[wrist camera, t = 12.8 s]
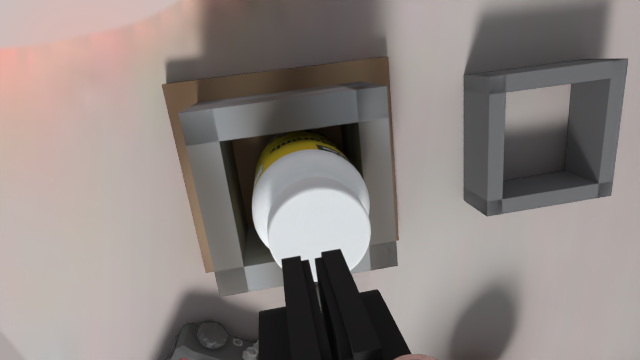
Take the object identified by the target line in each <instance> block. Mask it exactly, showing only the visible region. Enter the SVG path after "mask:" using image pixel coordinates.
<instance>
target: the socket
mask: <svg viewBox="0 0 640 360" xmlns="http://www.w3.org/2000/svg"><path fill="white" fill-rule="evenodd" d="M162 88H163V92H164V96H165V101H166V105H167V109H168V114H169V118H170V122H171V126H172V131H173V135H174V139H175V143H176V148H177V152H178V156H179V160H180V165H181V169H182V173H183V177H184V182H185V186H186V190H187V194H188V199H189V203H190V207H191V211H192V216H193V220H194V224H195V229H196V233H197V237H198V241H199V246H200V250H201V254H202V258H203V263H204V267H205V271H206V273H208V272H215V277H216V281H217V286H218V290H219V294H220V297H223V296H228V295H234V294H240V293H245V292H251V291H257V290H262V289H268V288H274V287H280V286H284V282H283V272H282V268H281V267H280V266H279V265H278V264H277V262H276V261H275V260H274V258H273V256H272V254H271V252H270V249H269V248H268V247H267V246H266V245H265V244H264V243H263V241H262V240H261V238H260V237H259V235H258V233H257V231H256V228H255V225H254V221H253V215H252V197H253V189H254V181H255V172H256V165H257V161H258V159H259V156H260V154H261V152H262V150H263V148H264V147H265V146H266V144H267V143H268V142H269V141H270V140H271V139H272V138H274V137H275V136H276V135H278V134H280V133H284V132H291V131H298V130H305V129H310V130H314V131H317V132H319V133H321V134H323V135H325V136H326V137H328V138H329V139H330V140H331V141H333V143H334V144H335V145H336V146H337V147H338V148H339V149H340V150H341V151H342V153H343V154H344V155H345V156H346V158H347V159H348V160H349V161H350V162H351V163H352V165H353V166H354V167H355V168H356V169H357V171H358V172H359V173H360V175H361V177H362V178H363V180H364V182H365V185H366V187H367V190H368V194H369V200H370V209H369V220H370V226H371V236H370V242H369V246H368V248H367V251H366V253H365V254H364V256H363V258H362V259H361V261H360V262H359V263H358V264H357V265H356V266H355V267H354V268H353V269H352V270H350V272H351V274H353V273H359V272H365V271H370V270H376V269H382V268H387V267H393V266H398V263H397V246H396V241H397V240H399V237H398V219H397V202H396V185H395V167H394V150H393V132H392V115H391V97H390V80H389V62H388V57H379V58H371V59H363V60H355V61H347V62H338V63H330V64H322V65H314V66H306V67H298V68H290V69H281V70H273V71H265V72H257V73H249V74H241V75H232V76H224V77H216V78H208V79H200V80H192V81H184V82H175V83H167V84H162Z"/></svg>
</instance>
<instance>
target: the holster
mask: <svg viewBox="0 0 640 360" xmlns="http://www.w3.org/2000/svg"><path fill="white" fill-rule="evenodd" d="M627 65H628V59H584V60H576V61H569V62H561V63H553V64H546V65H538V66H530V67H522V68H515V69H507V70H499V71H492V72H484V73H476V74H469V75H464V201H465V202H467V203H468V204H470V205H471V206H473V207H474V208H476V209H477V210H478V211H480V212H481V213H483V214H484V215H486V216H492V215H498V214H504V213H510V212H516V211H522V210H528V209H534V208H540V207H546V206H552V205H558V204H564V203H570V202H576V201H582V200H588V199H594V198H600V197H606V196H611V192H612V184H613V176H614V168H615V161H616V153H617V145H618V137H619V129H620V121H621V113H622V105H623V97H624V89H625V81H626V73H627ZM564 84H572V86H571V97H570V109H569V121H568V133H567V145H566V157H565V169H564V171H561V172H555V173H549V174H543V175H536V176H530V177H524V178H517V179H511V180H505V181H503V165H504V135H505V105H506V92H513V91H520V90H528V89H535V88H542V87H550V86H557V85H564Z"/></svg>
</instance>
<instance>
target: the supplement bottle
mask: <svg viewBox="0 0 640 360" xmlns="http://www.w3.org/2000/svg"><path fill="white" fill-rule="evenodd" d="M369 209H370V200H369V194H368V190H367V187H366V185H365V182H364V180H363V178H362V177H361V175H360V173H359V172H358V171H357V169H356V168H355V167H354V166H353V165H352V163H351V162H350V161H349V160H348V159H347V158H346V156H345V155H344V154H343V153H342V151H341V150H340V149H339V148H338V147H337V146H336V145H335V144H334V143H333V141H331V140H330V139H329V138H328V137H326V136H325V135H323V134H321V133H319V132H317V131H314V130H310V129H305V130H298V131H291V132H284V133H280V134H278V135H276V136H275V137H274V138H272V139H271V140H270V141H269V142H268V143H267V144H266V146H265V147H264V148H263V150H262V152H261V154H260V156H259V159H258V161H257V165H256V172H255V181H254V189H253V197H252V215H253V221H254V225H255V228H256V231H257V233H258V235H259V237H260V238H261V240H262V241H263V243H264V244H265V245H266V246H267V247H268V248H269V249H270V252H271V254H272V256H273V258H274V260H275V261H276V262H277V264H278V265H279V266H280V267H281V268H282V262H281V259H284V258H289V257H295V256H300V257H301V261H302V260H308V259H309V263H310V267H311V271H312V275H313V279H314V282H317V274H316V267H315V258H319V257H321V252H324V251H330V250H335V249H341V251H342V254H343V256H344V258H345V261H346V263H347V265H348V268H349V270H352V269H353V268H354V267H355V266H356V265H357V264H358V263H359V262H360V261H361V259H362V258H363V256H364V254H365V253H366V251H367V248H368V246H369V242H370V236H371V226H370V220H369Z"/></svg>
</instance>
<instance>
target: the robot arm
mask: <svg viewBox="0 0 640 360" xmlns="http://www.w3.org/2000/svg"><path fill="white" fill-rule="evenodd" d="M281 262H282V272H283V282H284V292H285V302H286V307H281V308H275V309H270V310H264V311H260V312H259V348H258V360H437V359H435V358H433V357H430V356H426V355H422V354H411V352H410V350H409V348H408V346H407V344H406V342H405V340H404V338H403V337H402V335H401V333H400V331H399V329H398V327H397V325H396V323H395V321H394V319H393V317H392V315H391V313H390V311H389V309H388V307H387V305H386V303H385V302H384V300H383V298H382V296H381V294H380V292H379V291H378V290H371V291H366V292H361V293H359V291H358V289H357V287H356V284H355V282H354V280H353V277H352V275H351V272H350V270H349V268H348V265H347V263H346V261H345V258H344V256H343V254H342V251H341V249H335V250H330V251H324V252H321V257H319V258H315V267H316V274H317V282H318V289H319V297H320V304H321V309H320V304H319V300H318V296H317V292H316V288H315V283H314V279H313V275H312V271H311V267H310V263H309V259H308V260H302V261H301V257H300V256H295V257H289V258H284V259H281ZM321 312H322V313H321Z"/></svg>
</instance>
